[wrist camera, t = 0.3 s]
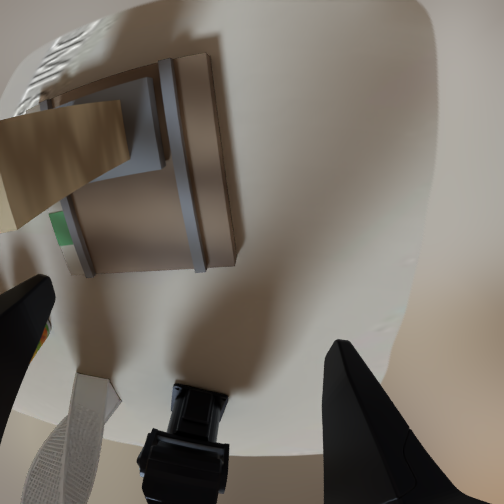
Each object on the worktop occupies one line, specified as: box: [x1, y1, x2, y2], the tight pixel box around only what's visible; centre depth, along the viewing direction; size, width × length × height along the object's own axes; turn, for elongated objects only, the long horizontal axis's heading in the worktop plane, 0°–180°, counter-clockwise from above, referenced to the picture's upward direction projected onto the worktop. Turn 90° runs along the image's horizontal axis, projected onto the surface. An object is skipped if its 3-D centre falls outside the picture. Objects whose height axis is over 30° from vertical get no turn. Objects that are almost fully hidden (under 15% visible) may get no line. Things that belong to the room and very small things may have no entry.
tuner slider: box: [0, 77, 166, 233], centre depth 13 cm, size 6×12×12 cm, turn 96°
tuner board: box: [26, 53, 237, 278], centre depth 20 cm, size 15×15×2 cm
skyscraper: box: [21, 372, 122, 504], centre depth 23 cm, size 8×7×28 cm
